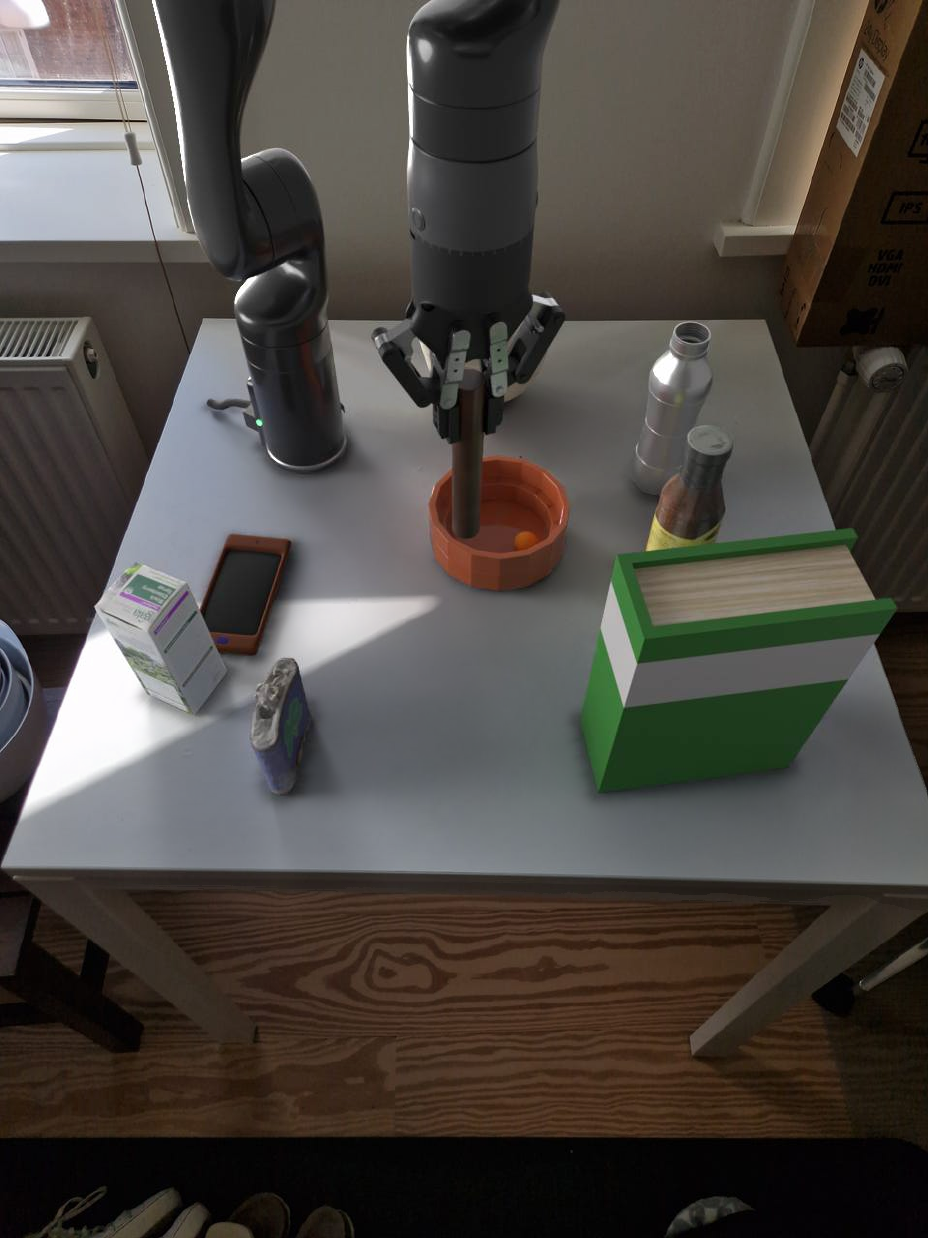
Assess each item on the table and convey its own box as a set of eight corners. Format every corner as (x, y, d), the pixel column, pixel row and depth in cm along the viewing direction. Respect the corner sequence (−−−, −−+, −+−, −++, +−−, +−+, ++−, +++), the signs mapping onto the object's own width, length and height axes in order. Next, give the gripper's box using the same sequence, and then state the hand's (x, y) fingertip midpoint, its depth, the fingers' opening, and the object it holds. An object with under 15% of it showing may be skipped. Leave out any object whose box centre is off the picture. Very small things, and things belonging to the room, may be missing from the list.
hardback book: (760, 697, 82) (852, 527, 62) (788, 767, 77) (897, 608, 58) (579, 720, 80) (616, 554, 61) (598, 792, 76) (644, 639, 56)
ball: (508, 554, 91) (509, 537, 89) (521, 538, 92) (522, 522, 90) (529, 564, 90) (530, 548, 88) (541, 549, 91) (543, 532, 89)
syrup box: (229, 671, 83) (190, 578, 72) (194, 719, 80) (147, 630, 68) (181, 650, 85) (135, 556, 73) (144, 697, 82) (90, 606, 70)
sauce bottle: (696, 615, 87) (748, 474, 71) (634, 605, 88) (672, 463, 72) (698, 566, 91) (748, 422, 75) (640, 557, 92) (677, 413, 76)
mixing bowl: (405, 556, 92) (401, 518, 87) (478, 477, 99) (479, 438, 94) (518, 616, 87) (521, 580, 82) (587, 529, 94) (594, 491, 89)
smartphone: (184, 645, 84) (227, 531, 92) (186, 650, 84) (229, 537, 93) (254, 652, 83) (291, 537, 92) (256, 658, 84) (293, 543, 93)
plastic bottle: (619, 493, 97) (650, 345, 81) (635, 455, 101) (668, 306, 85) (675, 509, 96) (717, 361, 80) (689, 469, 100) (732, 320, 83)
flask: (292, 798, 75) (270, 740, 67) (260, 794, 76) (233, 736, 67) (315, 708, 81) (297, 644, 72) (285, 704, 81) (263, 640, 72)
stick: (446, 531, 73) (445, 381, 60) (462, 514, 75) (464, 363, 61) (469, 543, 73) (473, 394, 60) (485, 526, 74) (492, 376, 61)
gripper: (554, 161, 54) (532, 381, 68) (341, 199, 51) (365, 420, 65) (605, 222, 50) (571, 443, 64) (377, 267, 47) (394, 488, 61)
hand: (467, 431), depth 65 cm, fingers closed on stick, 2 cm apart
